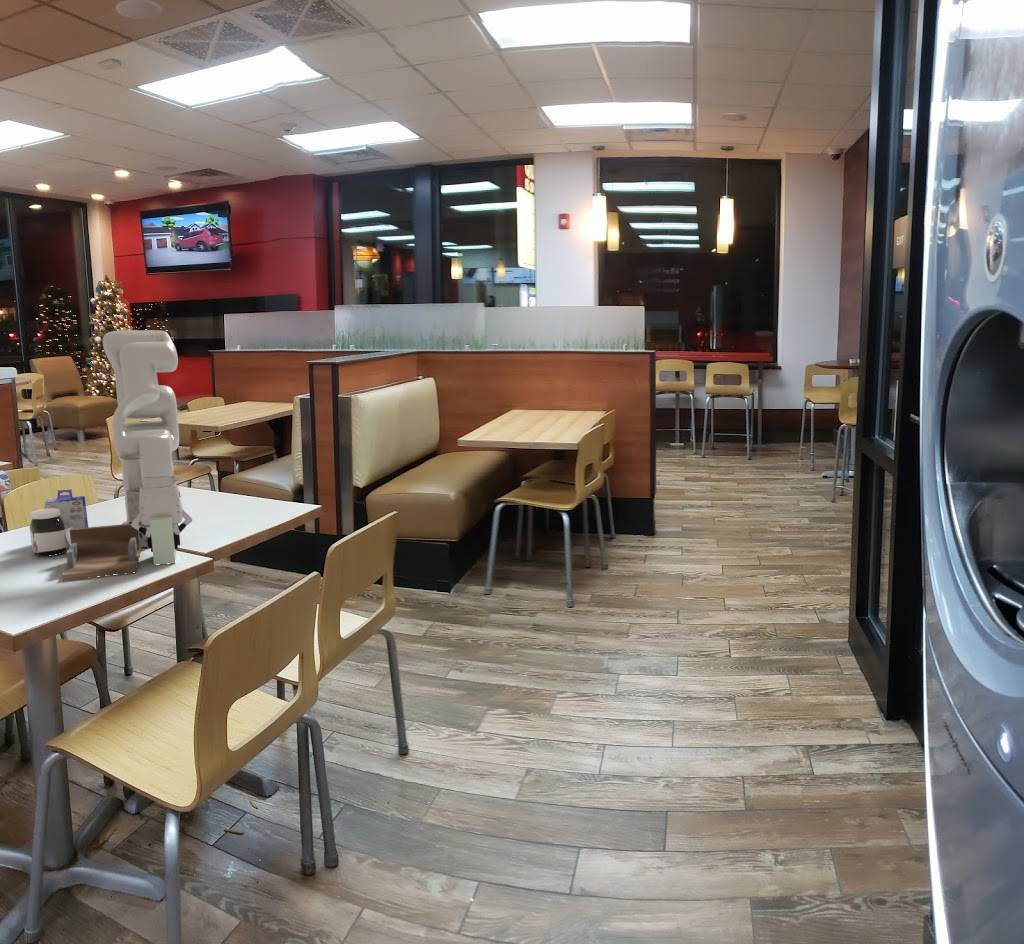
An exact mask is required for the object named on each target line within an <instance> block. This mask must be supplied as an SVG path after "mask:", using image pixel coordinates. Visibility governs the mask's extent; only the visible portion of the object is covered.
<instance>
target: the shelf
mask: <svg viewBox="0 0 1024 944" xmlns="http://www.w3.org/2000/svg"><path fill="white" fill-rule="evenodd" d="M70 538H71V546H70V545H69V547H68V549H67V550H66V560H67V562H66V563H67V565H66V568H65V569H64V571H63V573H62V575H61V576H62V581H63V582H65V581H64V580H68V581H74V580H73V579H77V580H82V579H81V578H87V579H89V578H88V577H96V578H98V577H97V576H105V575H113V574H125V573H133V572H136V573H137V570H136V568H137V569H138V566H139V562H138V561H140V559H139V558H141V555H140V554H142V553H141V552H142V551H141V547H140V540H139V530H137V529H135V528H133V527H132V526H131V524H122V523H121V524H112V525H99V526H90V527H89V526H88V527H87V528H75V529H70ZM137 565H138V566H137ZM125 575H126V574H125Z"/></svg>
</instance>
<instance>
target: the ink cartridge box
mask: <svg viewBox="0 0 1024 944" xmlns="http://www.w3.org/2000/svg"><path fill="white" fill-rule="evenodd" d="M63 493H67V494H63ZM56 497H57V498H49V499H47V500H46V501H45V502H44V509H48V508H57V509H60V517H61V518H62V520H63V522H64V525H65V530H66V529H68V528H70V527H73V528H74V529H75V528H87V527H89V522H88V514H87V513H88V512H87V502H86V497H85V495H81V496H73V489H62V490H61V489H60V490H57V496H56ZM66 539H67V537H66ZM67 543H69V542H68V540H67Z"/></svg>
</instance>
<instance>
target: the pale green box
mask: <svg viewBox="0 0 1024 944" xmlns="http://www.w3.org/2000/svg"><path fill="white" fill-rule="evenodd" d="M150 527H151V537H152V548H153V552H152V556H153V566H154V565H156V564H167V563H175V564H176V562H175V560H176V559H177V550H175V546H174V529H173V524H172V516H168V517H157V518H150ZM176 561H177V560H176ZM167 565H168V564H167Z"/></svg>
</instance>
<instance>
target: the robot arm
mask: <svg viewBox="0 0 1024 944" xmlns="http://www.w3.org/2000/svg"><path fill="white" fill-rule="evenodd" d="M102 346H103V350H104V353H105V355H106V358H107V359H108V362H109V363H110V365H111V367H112V369H113V372H114V373H113V374H114V377H115V388H116V391H115V392H116V399H117V400H116V401H117V407H116V409H115V411H114V414H113V416H112V419H111V420H112V422H111V425H112V426H111V428H112V429H111V430H112V437H113V442H114V443H113V444H114V449H115V452H116V454H117V456H118V457H119V460H120V467H121V475H122V486H123V494H124V504H125V505H124V506H125V513H126V514H125V515H126V521H123V522H122V523H121V525H122V524H129V517H128V506H127V494H126V491H127V490H131V489H134V488H137V487H141V486H143V487H141V488H140V495H139V509H140V513H139V514H138V516H137V517H136V518H135V520H134V521H133V522H132V524H131V526H132V527H133V528H135V529H137V530H139V531H140V532H141V533H142V534H144V535H145V536H146V537H147V541H148V548H147V549H150V552H151V553H153V548H152V537H151V527H150V518H157V517H168V516H172V524H173V529H174V546H175V550H176V551H177V550H178V549H179V546H181V538H180V537H181V533H182V531H183V530H184V529H186V527H187V526H188V525H190V524H191V523H192V522H193V517H191V516H190V515H189V514H188V512H186V511H185V510H184V509H183V503H182V496H181V492H180V488H179V485H178V484H176V482H180V481H181V476H180V475H176V474H175V473H174V464H173V452H174V451H176V450H177V449H178V448H179V446H180V445H179V444H180V429H179V416H178V415H179V414H178V405H177V404H178V403H177V398H176V394H175V391H174V390H173V389H172V387H170V386H168V385H160V384H159V379H158V375H157V373H172V372H174V371H176V370H177V368H178V363H179V357H178V352H177V348H176V345H175V344H174V342H173V340H172V338H171V336H170V335H169V334H168V333H167V331H165V330H161V329H160V330H159V329H158V330H154V329H153V330H151V329H150V330H146V329H145V330H139V329H135V330H134V329H133V330H132V329H131V330H128V329H127V330H125V329H124V330H113V331H108V332H106V333H105V334H104V335H103V337H102ZM150 418H151V419H154V418H159V419H161V420H157V421H156V420H155V421H139V422H138V421H137V422H136V421H135V422H128V423H125V420H126V419H131V420H132V419H134V420H135V419H150ZM183 519H184V520H183ZM140 521H141V524H142V525H143V526H147V529H146V528H145V527H143V526H141V525H140V524H139V522H140Z"/></svg>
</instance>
